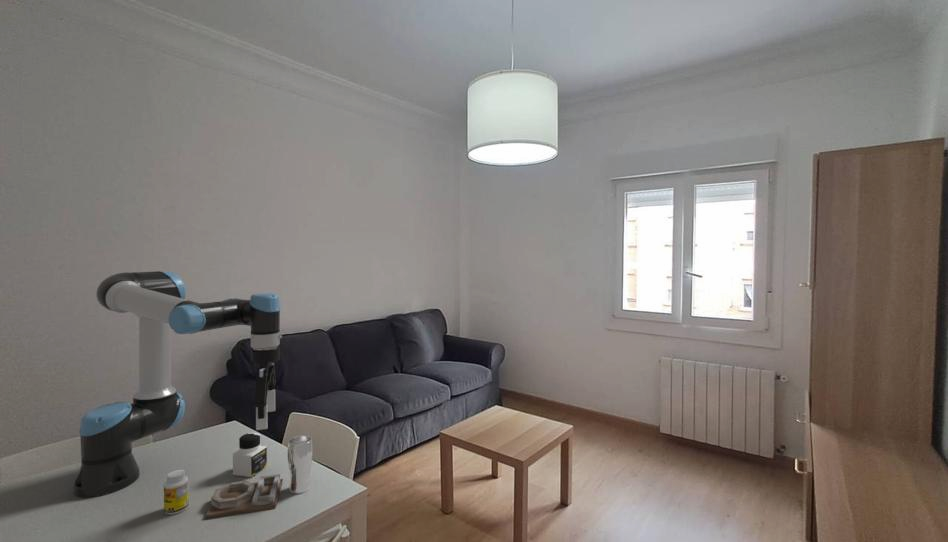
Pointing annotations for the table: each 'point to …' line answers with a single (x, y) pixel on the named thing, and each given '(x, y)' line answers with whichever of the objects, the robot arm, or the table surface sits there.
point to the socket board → (244, 506)
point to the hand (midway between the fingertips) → (266, 419)
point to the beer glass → (300, 463)
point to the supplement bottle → (176, 492)
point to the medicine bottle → (249, 456)
